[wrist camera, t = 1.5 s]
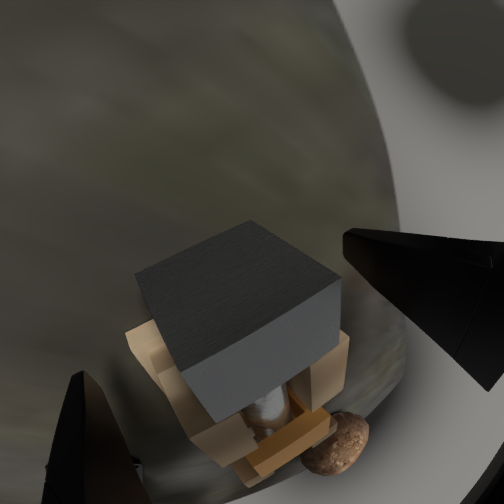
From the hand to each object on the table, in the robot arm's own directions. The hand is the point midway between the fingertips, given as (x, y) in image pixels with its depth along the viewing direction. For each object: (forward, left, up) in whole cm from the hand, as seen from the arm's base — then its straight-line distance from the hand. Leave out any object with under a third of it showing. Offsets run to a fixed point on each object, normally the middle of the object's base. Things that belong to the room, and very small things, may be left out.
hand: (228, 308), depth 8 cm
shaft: (-4, -2, -2) cm, 5 cm away
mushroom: (-20, -18, -4) cm, 27 cm away
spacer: (-7, -4, -1) cm, 8 cm away
